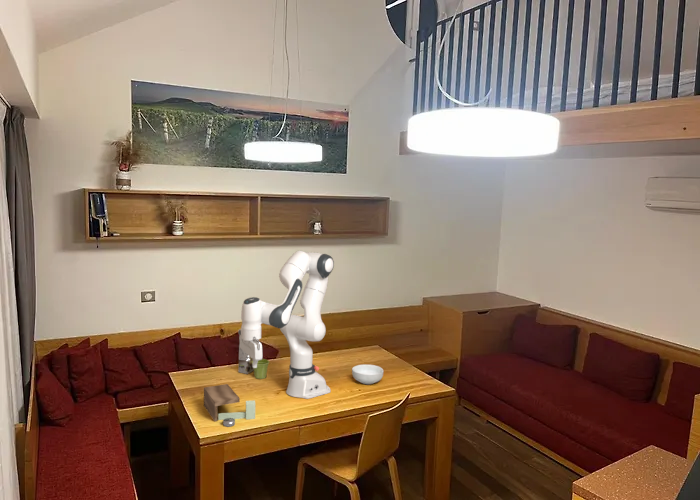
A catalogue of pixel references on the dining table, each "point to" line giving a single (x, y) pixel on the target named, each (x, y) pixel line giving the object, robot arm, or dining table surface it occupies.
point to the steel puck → (228, 422)
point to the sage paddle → (239, 415)
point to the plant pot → (261, 369)
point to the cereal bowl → (367, 373)
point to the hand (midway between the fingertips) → (250, 364)
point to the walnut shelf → (218, 398)
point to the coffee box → (244, 363)
